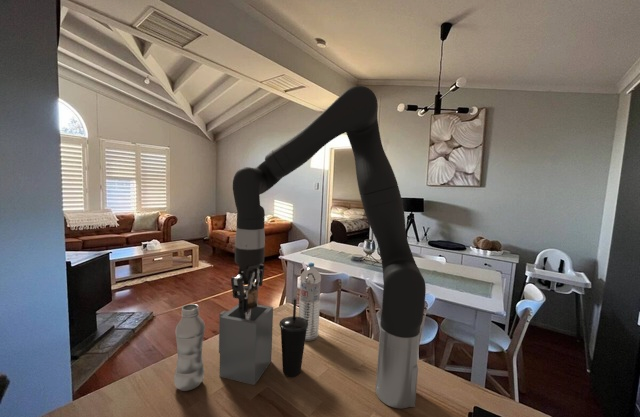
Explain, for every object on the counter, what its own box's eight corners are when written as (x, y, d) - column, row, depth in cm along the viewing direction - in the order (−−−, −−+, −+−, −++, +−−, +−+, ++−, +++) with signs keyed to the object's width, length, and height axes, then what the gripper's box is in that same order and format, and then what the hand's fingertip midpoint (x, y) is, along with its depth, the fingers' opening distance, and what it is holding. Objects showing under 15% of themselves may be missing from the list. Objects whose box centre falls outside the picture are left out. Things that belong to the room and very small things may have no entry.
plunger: (263, 358, 79) (266, 287, 77) (251, 374, 72) (254, 297, 70) (242, 353, 80) (243, 284, 79) (228, 368, 74) (230, 293, 72)
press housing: (271, 361, 80) (273, 307, 78) (254, 385, 70) (256, 324, 69) (230, 352, 83) (232, 300, 82) (209, 374, 74) (210, 315, 72)
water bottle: (295, 332, 96) (298, 260, 94) (314, 330, 98) (318, 260, 96) (300, 343, 90) (303, 266, 87) (320, 340, 92) (324, 266, 89)
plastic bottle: (175, 379, 71) (176, 303, 69) (204, 374, 73) (205, 300, 72) (172, 397, 65) (172, 314, 63) (203, 391, 67) (205, 311, 66)
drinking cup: (301, 383, 72) (305, 308, 70) (273, 377, 73) (276, 303, 71) (308, 364, 79) (312, 296, 77) (283, 360, 81) (285, 292, 79)
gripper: (249, 252, 65) (247, 322, 67) (274, 241, 79) (272, 299, 81) (221, 249, 67) (219, 317, 69) (250, 238, 81) (248, 295, 83)
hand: (248, 307), depth 75 cm, fingers closed on plunger, 4 cm apart
